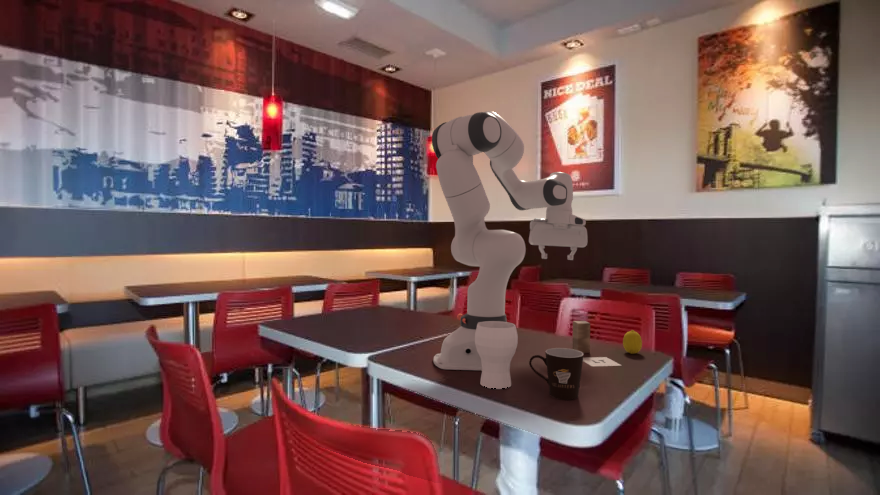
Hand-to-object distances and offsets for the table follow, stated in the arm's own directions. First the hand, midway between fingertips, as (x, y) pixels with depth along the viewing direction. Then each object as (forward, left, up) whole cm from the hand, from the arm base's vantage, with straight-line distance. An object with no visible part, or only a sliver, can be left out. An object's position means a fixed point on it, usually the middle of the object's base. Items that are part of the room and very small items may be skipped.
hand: (557, 259), depth 154 cm
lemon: (+18, -17, -30) cm, 39 cm away
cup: (-32, -40, -30) cm, 59 cm away
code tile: (+3, -25, -30) cm, 39 cm away
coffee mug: (-19, -48, -30) cm, 60 cm away
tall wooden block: (+3, -13, -30) cm, 32 cm away
